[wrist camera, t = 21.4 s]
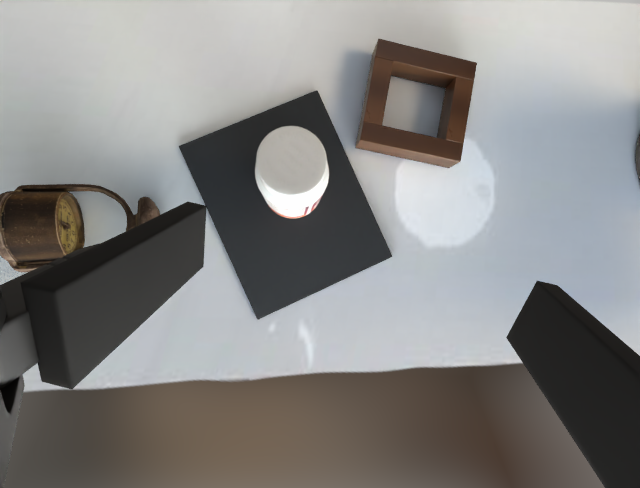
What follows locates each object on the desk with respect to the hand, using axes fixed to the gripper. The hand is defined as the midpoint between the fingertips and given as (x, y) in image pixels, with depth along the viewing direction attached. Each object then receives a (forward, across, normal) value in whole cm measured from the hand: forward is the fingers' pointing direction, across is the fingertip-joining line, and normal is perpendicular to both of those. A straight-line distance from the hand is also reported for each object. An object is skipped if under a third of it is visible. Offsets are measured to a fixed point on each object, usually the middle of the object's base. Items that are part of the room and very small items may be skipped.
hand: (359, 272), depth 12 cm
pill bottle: (+22, -7, -3) cm, 23 cm away
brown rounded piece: (+16, -25, -10) cm, 31 cm away
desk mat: (+21, -7, -4) cm, 23 cm away
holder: (+28, +4, +7) cm, 29 cm away
